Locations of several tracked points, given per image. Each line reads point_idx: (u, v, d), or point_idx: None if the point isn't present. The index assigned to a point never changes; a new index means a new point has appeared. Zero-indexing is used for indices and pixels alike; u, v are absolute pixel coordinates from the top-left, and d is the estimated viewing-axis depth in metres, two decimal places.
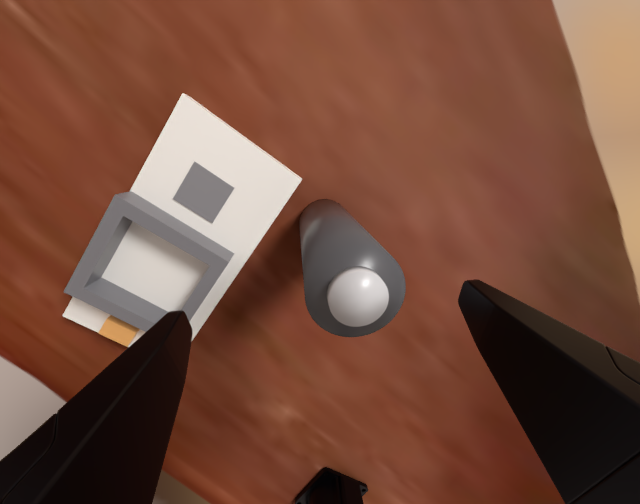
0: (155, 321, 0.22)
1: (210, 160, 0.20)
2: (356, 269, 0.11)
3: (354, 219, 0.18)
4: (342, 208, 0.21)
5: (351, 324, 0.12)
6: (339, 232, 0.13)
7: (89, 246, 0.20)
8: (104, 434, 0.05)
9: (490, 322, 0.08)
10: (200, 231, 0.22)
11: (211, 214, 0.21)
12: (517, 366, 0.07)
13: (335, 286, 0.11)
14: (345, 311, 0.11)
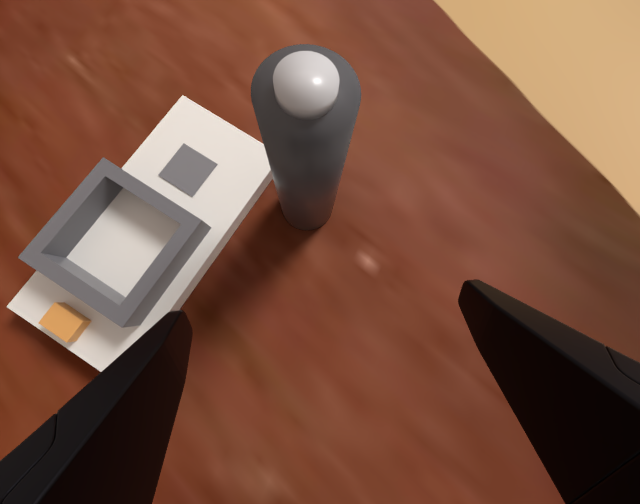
0: (108, 296, 0.19)
1: (198, 142, 0.23)
2: None
3: None
4: None
5: (300, 105, 0.10)
6: None
7: (63, 206, 0.19)
8: (104, 434, 0.05)
9: (490, 322, 0.08)
10: (179, 205, 0.22)
11: (192, 188, 0.22)
12: (517, 366, 0.07)
13: (279, 64, 0.10)
14: (292, 91, 0.10)
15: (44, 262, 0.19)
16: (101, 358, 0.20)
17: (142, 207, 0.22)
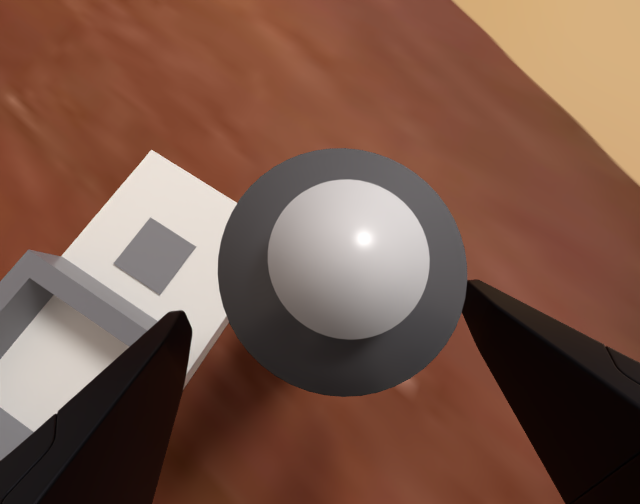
0: None
1: (170, 215, 0.17)
2: None
3: None
4: None
5: (337, 331, 0.04)
6: None
7: None
8: (104, 434, 0.05)
9: (490, 322, 0.08)
10: (141, 307, 0.16)
11: (160, 282, 0.16)
12: (517, 366, 0.07)
13: (283, 217, 0.04)
14: (316, 289, 0.04)
15: None
16: None
17: None
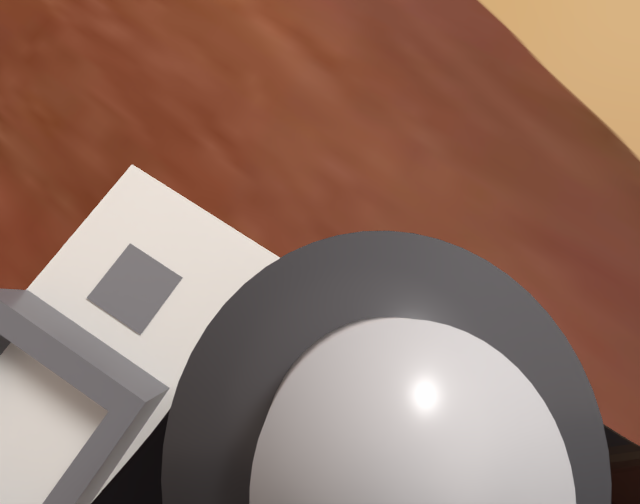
0: None
1: (153, 241, 0.14)
2: (377, 320, 0.03)
3: None
4: None
5: None
6: None
7: None
8: None
9: None
10: (119, 350, 0.13)
11: (141, 320, 0.14)
12: None
13: (282, 405, 0.02)
14: None
15: None
16: None
17: None
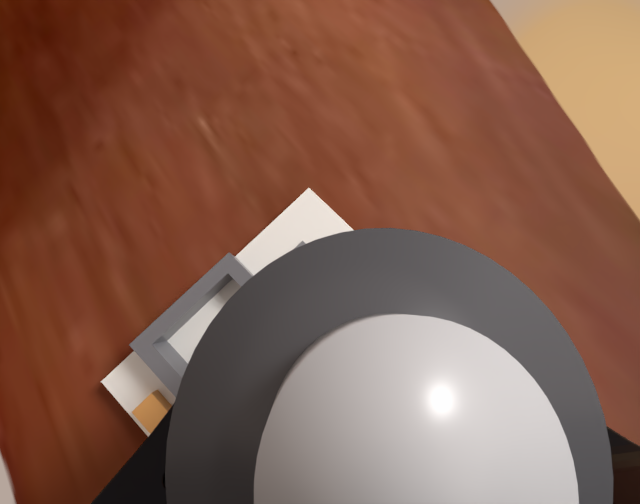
0: None
1: None
2: None
3: None
4: None
5: None
6: None
7: (181, 298, 0.19)
8: None
9: None
10: None
11: None
12: None
13: (286, 401, 0.02)
14: None
15: (153, 356, 0.18)
16: None
17: None
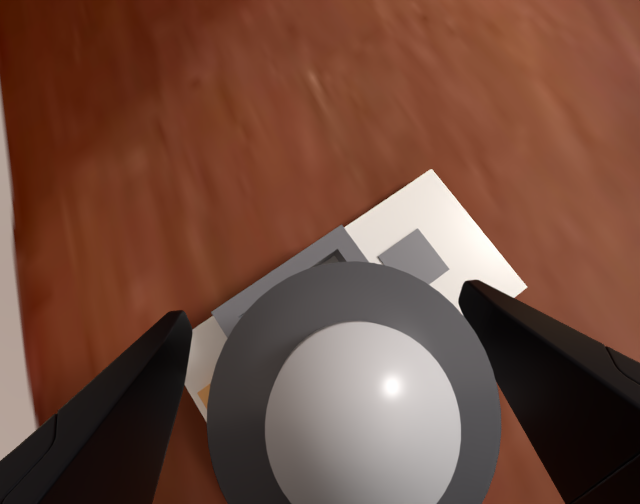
0: None
1: (433, 233, 0.18)
2: (345, 323, 0.04)
3: None
4: None
5: None
6: None
7: (279, 268, 0.15)
8: (104, 434, 0.05)
9: (490, 322, 0.08)
10: None
11: None
12: (517, 366, 0.07)
13: (284, 375, 0.04)
14: (323, 471, 0.03)
15: None
16: None
17: None
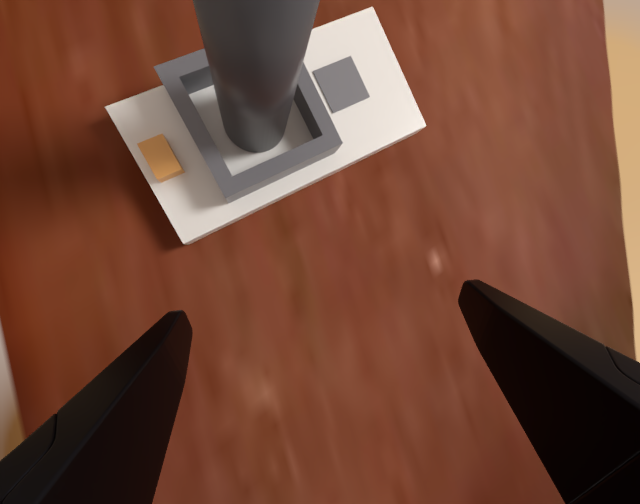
0: (223, 160, 0.18)
1: (363, 64, 0.21)
2: None
3: None
4: None
5: None
6: None
7: None
8: (104, 434, 0.05)
9: (490, 322, 0.08)
10: None
11: (337, 105, 0.21)
12: (517, 366, 0.07)
13: None
14: None
15: (178, 89, 0.17)
16: (178, 212, 0.19)
17: None
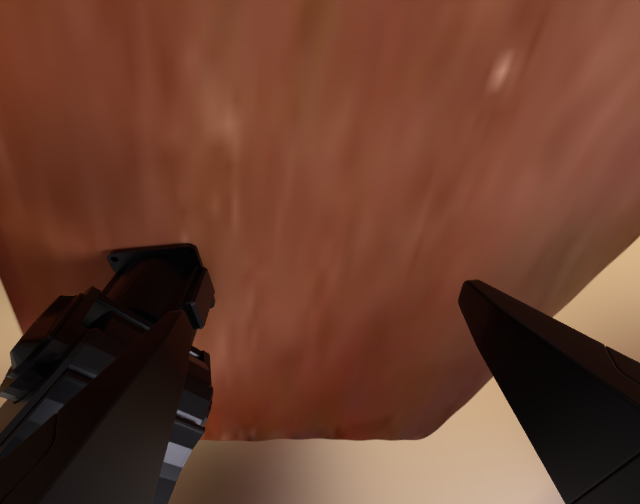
0: None
1: None
2: None
3: None
4: None
5: None
6: None
7: None
8: (104, 434, 0.05)
9: (490, 322, 0.08)
10: None
11: None
12: (517, 366, 0.07)
13: None
14: None
15: None
16: None
17: None
